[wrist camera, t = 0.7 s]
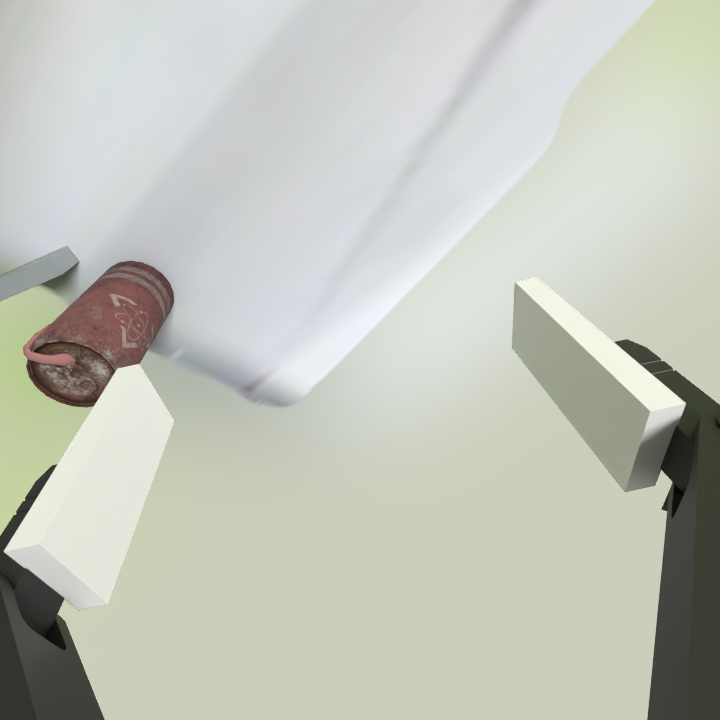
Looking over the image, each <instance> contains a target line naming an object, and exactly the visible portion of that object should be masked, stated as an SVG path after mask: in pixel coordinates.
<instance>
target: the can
mask: <svg viewBox="0 0 720 720" xmlns="http://www.w3.org/2000/svg"><path fill="white" fill-rule="evenodd" d="M173 303H174V294H173V290H172V288H171V285H170V283H169V282H168V280H167V279H166V278H165V277H164V275H163V274H162V273H160V272H159V271H158V270H156V269H155V268H154V267H151V266H149V265H147V264H144V263H142V262H135V261H126V262H120V263H118V264H116V265H114V266H112V267H110V268H109V269H108V270H107V271H106V272H105V273H104V274H103V275H102V276H101V277H100V278H99V279H98V280H97V281H96V282H95V283H94V284H93V285H91V286H90V287H89V288H88V289H87V290H86V291H85V292H84V293H83V294H82V295H81V296H80V297H79V298H78V299H77V300H76V301H75V302H74V303H73V304H71V305H70V306H69V307H68V308H67V309H66V310H65V311H64V312H63V313H62V314H61V315H60V316H59V317H58V318H57V319H56V320H55V321H54V322H53V323H51V324H49V325H48V326H46V327H45V328H43V329H42V330H40V331H39V332H37V333H36V334H35V335H34V336H33V337H32V338H31V339H30V340H29V341H28V342H27V344H26V345H25V346H24V347H23V351H24V355H25V356H26V357H27V359H28V360H27V365H26V367H27V371H28V374H29V377H30V379H31V380H32V381H33V383H34V385H35V386H36V387H37V388H38V389H39V390H40V391H42V392H43V393H44V394H45V395H46V396H48V397H50V398H52V399H54V400H56V401H58V402H60V403H63V404H67V405H71V406H76V407H92V406H94V405H95V404H96V402H97V401H98V399H99V397H100V396H101V394H102V393H103V391H104V389H105V388H106V386H107V385H108V383H109V381H110V380H111V378H112V376H113V375H114V373H115V372H116V370H117V369H118V368H123V367H127V366H132V365H136V364H140V362H141V360H142V358H143V357H144V355H145V353H146V352H147V350H148V348H149V346H150V345H151V343H152V341H153V340H154V338H155V336H156V334H157V333H158V331H159V329H160V328H161V326H162V324H163V322H164V321H165V319H166V317H167V316H168V314H169V312H170V310H171V308H172V305H173Z"/></svg>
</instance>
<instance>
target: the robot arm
mask: <svg viewBox="0 0 720 720" xmlns="http://www.w3.org/2000/svg"><path fill="white" fill-rule="evenodd" d="M512 348H513V350H514V351H515V352H516V354H517V355H518V356H519V358H520V359H521V360H522V361H523V363H524V364H525V365H526V366H527V368H528V369H529V370H530V372H531V373H532V374H533V375H534V377H535V378H536V379H537V380H538V382H539V383H540V384H541V386H542V387H543V388H544V389H545V391H546V392H547V393H548V395H550V397H551V398H552V400H553V401H554V402H555V404H556V405H557V406H558V407H559V409H560V410H561V411H562V413H563V414H564V415H565V416H566V417H567V419H568V420H569V421H570V423H571V424H572V425H573V427H574V428H575V429H576V430H577V432H578V433H579V434H580V435H581V437H582V438H583V439H584V440H585V442H586V443H587V444H588V446H589V447H590V448H591V450H592V451H593V452H594V453H595V455H596V456H597V457H598V458H599V460H600V461H601V462H602V464H603V465H604V466H605V467H606V469H607V470H608V471H609V473H610V474H611V475H612V476H613V478H614V479H615V480H616V482H617V483H618V484H619V485H620V487H621V488H622V489H623V490H624V492H628V491H632V490H637V489H642V488H646V487H651V486H655V484H656V482H657V479H658V476H659V474H660V471H661V470H662V471H663V472H664V473H665V474H666V475H667V476H668V477H669V478H670V479H671V480H672V482H673V483H672V486H671V488H670V491H669V493H668V495H667V497H666V500H665V502H664V505H663V507H662V510H665V511H667V521H666V531H665V542H664V552H663V563H662V573H661V583H660V594H659V604H658V615H657V625H656V636H655V647H654V657H653V668H652V677H651V688H650V699H649V709H648V719H647V720H720V405H719V404H718V403H716V402H715V401H714V400H713V399H712V398H710V397H709V396H708V395H706V394H705V393H704V392H703V391H701V390H700V389H699V388H697V387H696V386H695V385H694V384H692V383H691V382H690V381H688V380H687V379H686V378H685V377H683V376H682V375H681V374H680V373H678V372H677V371H676V370H675V371H673V369H672V367H671V366H669V365H668V364H667V363H665V362H664V361H661V359H660V358H659V357H658V356H657V355H655V354H654V353H653V352H651V351H650V350H649V349H648V348H646V347H644V346H641V345H639V344H637V343H634V342H632V341H629V340H627V339H626V340H622V341H617V342H613V341H612V340H611V339H609V338H608V337H607V336H606V335H605V334H603V333H602V332H601V331H600V330H599V329H598V328H596V327H595V326H594V325H593V324H592V323H590V322H589V321H588V320H587V319H586V318H585V317H583V316H582V315H581V314H580V313H579V312H577V311H576V310H575V309H574V308H573V307H572V306H570V305H569V304H568V303H567V302H565V301H564V300H563V299H562V298H561V297H560V296H559V295H557V294H556V293H555V292H554V291H553V290H551V289H550V288H549V287H548V286H547V285H546V284H544V283H543V282H542V281H541V280H540V279H538V278H537V277H535V278H531V279H526V280H521V281H517V282H515V290H514V313H513V337H512ZM173 423H174V420H173V419H172V417H171V415H170V413H169V412H168V410H167V409H166V407H165V406H164V404H163V402H162V400H161V399H160V397H159V395H158V394H157V392H156V391H155V389H154V387H153V386H152V384H151V382H150V381H149V379H148V377H147V376H146V374H145V372H144V371H143V369H142V368H141V366H140V364H136V365H132V366H127V367H123V368H118V369H117V370H116V372H115V373H114V375H113V376H112V378H111V380H110V381H109V383H108V385H107V386H106V388H105V389H104V391H103V393H102V394H101V396H100V397H99V399H98V401H97V402H96V404H95V405H94V407H93V409H92V410H91V412H90V413H89V415H88V417H87V418H86V420H85V422H84V423H83V425H82V426H81V428H80V430H79V431H78V433H77V434H76V436H75V438H74V439H73V441H72V443H71V444H70V446H69V448H68V449H67V451H66V452H65V454H64V455H63V457H62V459H61V460H60V462H59V463H58V465H53V466H51V467H50V468H49V469H48V470H47V471H46V472H45V473H44V474H43V475H42V476H41V477H40V478H39V479H38V480H37V481H36V482H35V484H34V485H33V487H32V488H31V490H30V492H29V493H28V494H27V496H26V497H25V499H26V500H25V501H23V502H22V504H21V505H20V507H19V508H18V510H17V511H16V513H17V514H16V515H14V516H13V517H12V519H11V521H10V522H9V524H8V525H7V527H6V528H5V530H4V531H3V533H2V534H1V536H0V720H104V717H103V715H102V712H101V710H100V707H99V705H98V702H97V700H96V697H95V695H94V692H93V690H92V687H91V685H90V682H89V680H88V678H87V675H86V673H85V670H84V667H83V665H82V662H81V660H80V657H79V655H78V652H77V650H76V647H75V645H74V642H73V640H72V637H71V635H70V632H69V630H68V627H67V625H66V622H65V621H64V620H63V619H62V618H61V617H60V616H59V615H58V612H59V610H60V607H61V605H62V603H63V600H65V601H67V602H68V603H69V604H70V605H72V606H73V607H74V608H75V609H77V610H83V609H88V608H92V607H97V606H102V605H106V604H108V603H109V600H110V597H111V595H112V592H113V589H114V586H115V584H116V581H117V578H118V575H119V572H120V570H121V567H122V564H123V562H124V559H125V556H126V553H127V550H128V548H129V544H130V542H131V540H132V537H133V534H134V531H135V529H136V526H137V523H138V520H139V518H140V515H141V512H142V509H143V506H144V504H145V501H146V498H147V495H148V493H149V490H150V487H151V484H152V482H153V479H154V476H155V473H156V470H157V468H158V465H159V462H160V459H161V457H162V454H163V451H164V448H165V446H166V443H167V440H168V437H169V435H170V432H171V429H172V426H173Z"/></svg>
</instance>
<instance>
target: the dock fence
mask: <svg viewBox="0 0 720 720" xmlns="http://www.w3.org/2000/svg"><path fill="white" fill-rule="evenodd" d="M78 262H79V260H78V259H77V258H76V257H75V255H74V254H73V253H72V252H71V250H70V249H69V248H68V247H67V246H66V247H63V248H61V249H59V250H57V251H54V252H52V253H50V254H48V255H45V256H43V257H41V258H38V259H36V260H34V261H32V262H29V263H27V264H25V265H23V266H20V267H18V268H16V269H13V270H11V271H9V272H7V273H4V274H2V275H0V301H2V300H4V299H7V298H9V297H11V296H13V295H16V294H18V293H21V292H23V291H25V290H27V289H30V288H32V287H34V286H37V285H39V284H41V283H44V282H46V281H48V280H51V279H53V278H55V277H57V276H60V275H62V274H64V273H65V272H66V271H68V270H69V269H70V268H71V267H73V266H74V265H75V264H77V263H78Z"/></svg>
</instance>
